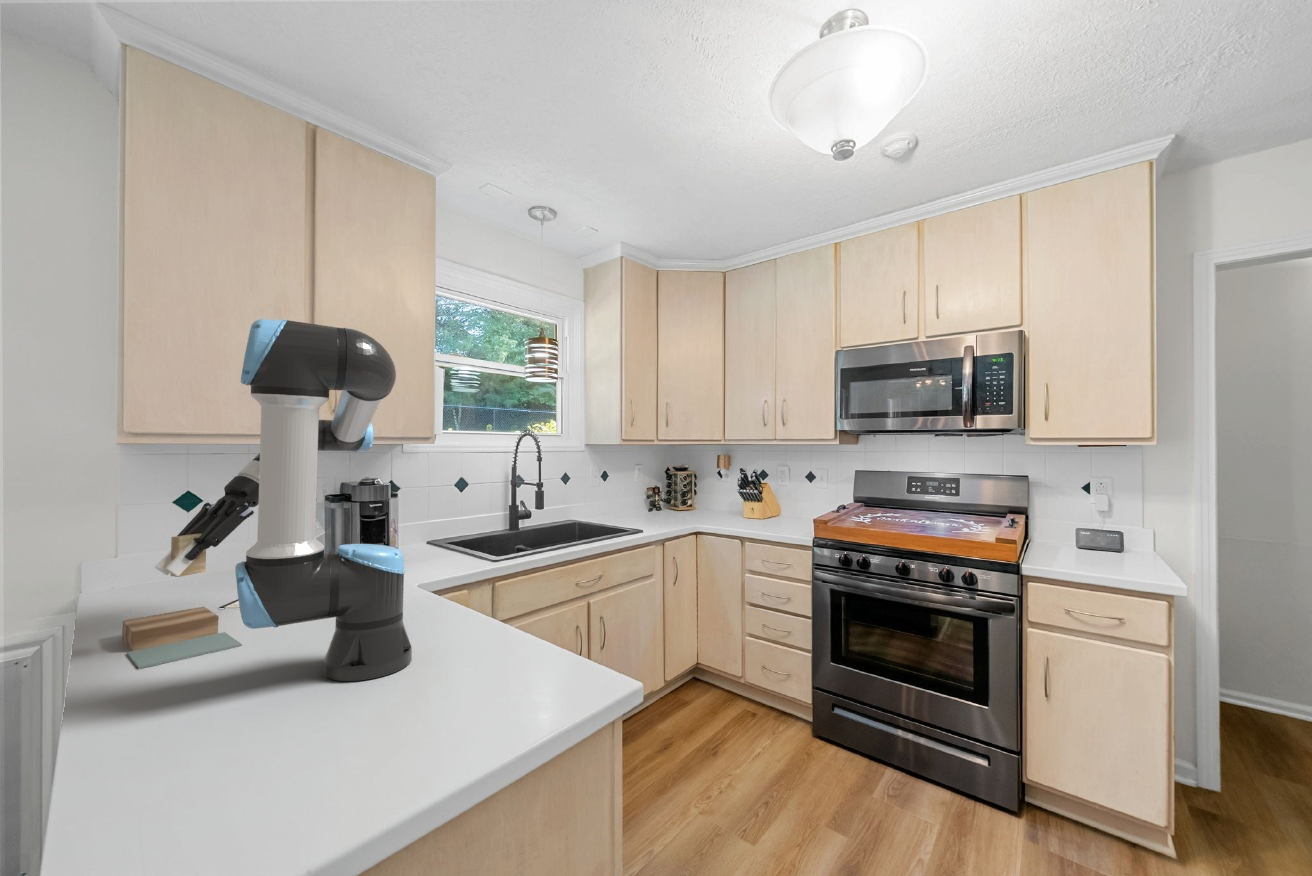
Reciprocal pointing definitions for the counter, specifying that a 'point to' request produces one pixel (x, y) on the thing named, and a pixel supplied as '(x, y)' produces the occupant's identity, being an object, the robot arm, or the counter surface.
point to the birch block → (179, 545)
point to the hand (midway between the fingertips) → (166, 571)
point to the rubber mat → (182, 650)
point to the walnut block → (169, 628)
